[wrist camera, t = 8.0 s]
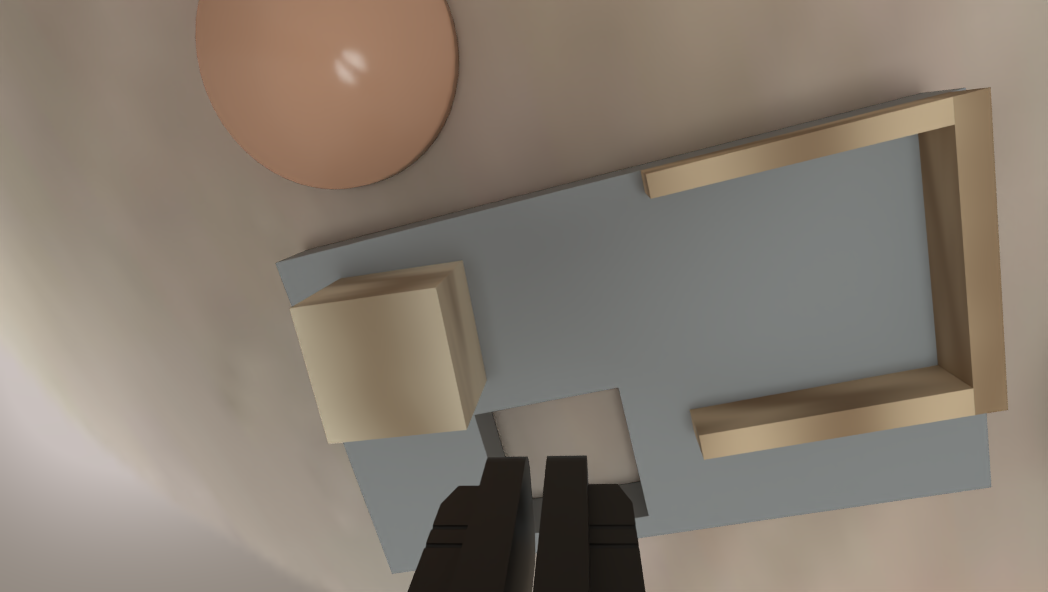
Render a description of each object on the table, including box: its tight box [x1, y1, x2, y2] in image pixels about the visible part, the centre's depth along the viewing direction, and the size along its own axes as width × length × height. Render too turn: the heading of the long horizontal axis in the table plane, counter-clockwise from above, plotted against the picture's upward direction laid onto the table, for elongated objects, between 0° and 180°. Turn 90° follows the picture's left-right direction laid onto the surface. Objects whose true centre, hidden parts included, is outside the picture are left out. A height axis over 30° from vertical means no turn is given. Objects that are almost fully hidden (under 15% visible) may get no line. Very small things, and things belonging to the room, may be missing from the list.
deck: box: [276, 88, 991, 574], centre depth 23 cm, size 25×15×2 cm, turn 105°
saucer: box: [195, 0, 459, 189], centre depth 22 cm, size 10×10×1 cm
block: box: [289, 260, 487, 444], centre depth 21 cm, size 5×5×4 cm
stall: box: [640, 87, 1008, 460], centre depth 20 cm, size 10×10×2 cm
